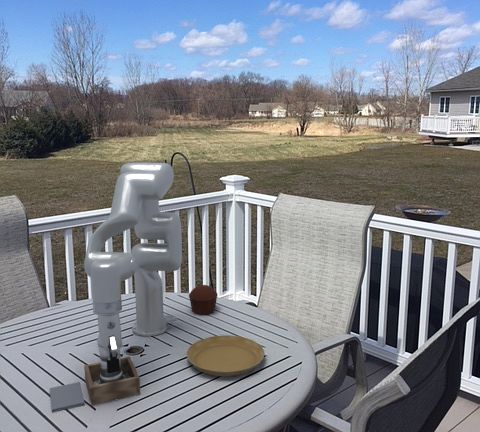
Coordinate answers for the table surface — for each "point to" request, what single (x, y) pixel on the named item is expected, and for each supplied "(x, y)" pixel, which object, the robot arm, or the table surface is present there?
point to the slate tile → (66, 396)
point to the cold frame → (112, 383)
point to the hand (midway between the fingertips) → (110, 363)
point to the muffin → (203, 300)
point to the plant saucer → (225, 355)
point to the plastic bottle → (104, 375)
